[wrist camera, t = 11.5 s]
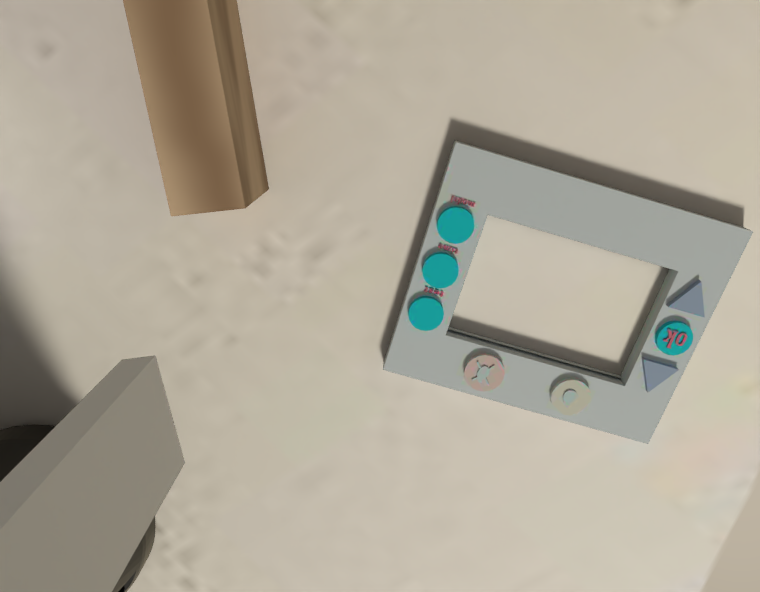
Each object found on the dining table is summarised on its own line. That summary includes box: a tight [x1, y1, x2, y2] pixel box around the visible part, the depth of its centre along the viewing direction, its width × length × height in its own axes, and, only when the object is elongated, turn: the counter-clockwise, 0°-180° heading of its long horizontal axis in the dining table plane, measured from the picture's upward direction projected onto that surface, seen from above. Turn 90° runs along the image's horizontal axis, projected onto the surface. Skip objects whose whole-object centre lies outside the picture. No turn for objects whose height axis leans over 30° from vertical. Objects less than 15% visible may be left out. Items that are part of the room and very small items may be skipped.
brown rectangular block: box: [123, 0, 269, 216], centre depth 35 cm, size 4×12×6 cm, turn 7°
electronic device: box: [383, 140, 753, 444], centre depth 40 cm, size 18×2×15 cm
